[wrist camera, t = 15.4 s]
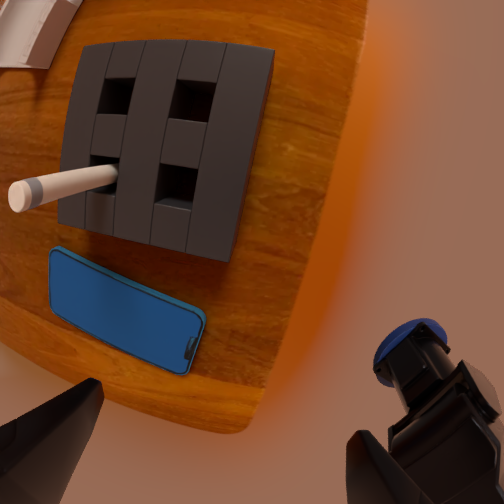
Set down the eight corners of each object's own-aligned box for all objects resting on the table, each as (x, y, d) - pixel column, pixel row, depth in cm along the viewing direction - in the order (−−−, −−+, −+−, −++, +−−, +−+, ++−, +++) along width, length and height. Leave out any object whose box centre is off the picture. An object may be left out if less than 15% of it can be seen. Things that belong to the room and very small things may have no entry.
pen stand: (273, 70, 15) (274, 49, 12) (236, 241, 19) (228, 263, 16) (112, 59, 15) (83, 45, 11) (88, 210, 19) (57, 223, 15)
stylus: (142, 167, 18) (27, 192, 8) (134, 181, 18) (20, 219, 8) (129, 158, 18) (12, 176, 7) (121, 172, 18) (5, 202, 8)
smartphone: (49, 244, 19) (208, 315, 20) (55, 240, 20) (210, 309, 21) (49, 311, 22) (186, 378, 23) (54, 306, 23) (188, 371, 23)
